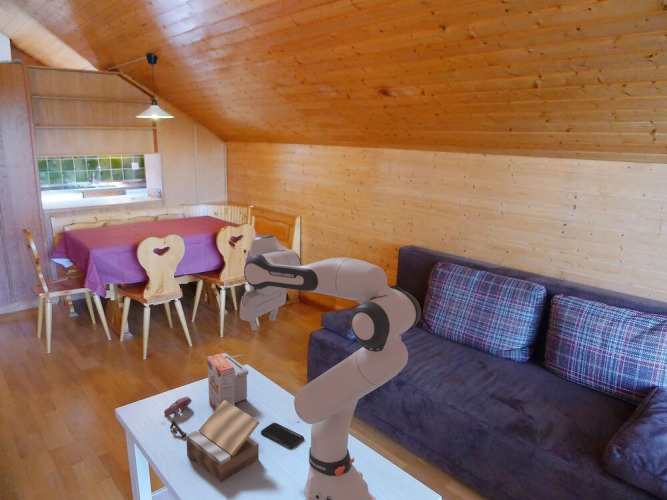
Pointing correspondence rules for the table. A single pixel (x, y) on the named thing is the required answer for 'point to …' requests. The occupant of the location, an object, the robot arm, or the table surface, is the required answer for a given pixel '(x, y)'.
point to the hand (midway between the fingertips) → (263, 324)
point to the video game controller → (178, 406)
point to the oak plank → (229, 427)
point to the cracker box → (220, 381)
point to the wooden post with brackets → (177, 428)
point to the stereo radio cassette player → (238, 378)
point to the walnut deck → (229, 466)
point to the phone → (282, 435)
